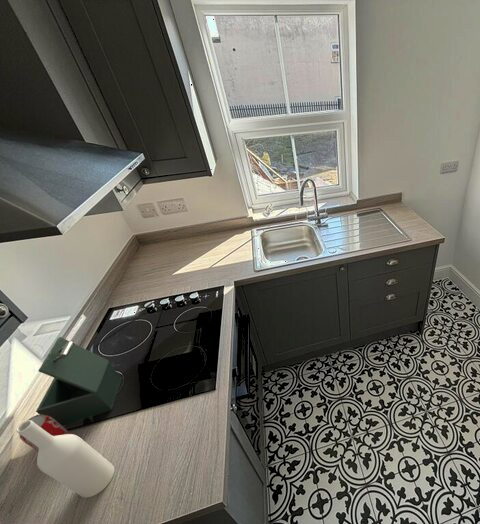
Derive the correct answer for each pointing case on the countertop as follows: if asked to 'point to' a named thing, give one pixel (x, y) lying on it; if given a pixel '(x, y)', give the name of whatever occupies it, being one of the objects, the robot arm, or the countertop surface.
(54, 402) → the bin
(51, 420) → the soda can
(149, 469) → the countertop surface
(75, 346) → the bin lid
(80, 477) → the bottle
